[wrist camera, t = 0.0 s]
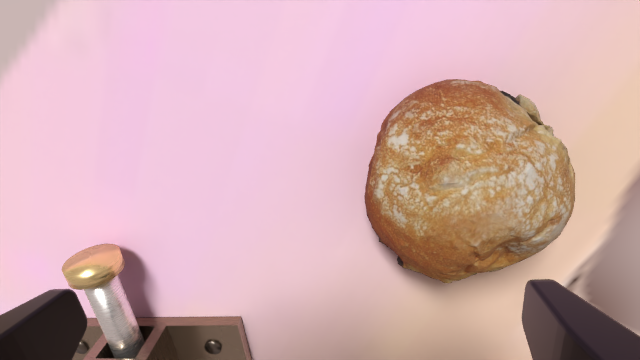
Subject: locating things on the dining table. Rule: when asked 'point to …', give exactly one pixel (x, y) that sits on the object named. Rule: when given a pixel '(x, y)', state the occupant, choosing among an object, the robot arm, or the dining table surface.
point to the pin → (106, 296)
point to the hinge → (174, 339)
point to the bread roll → (467, 181)
